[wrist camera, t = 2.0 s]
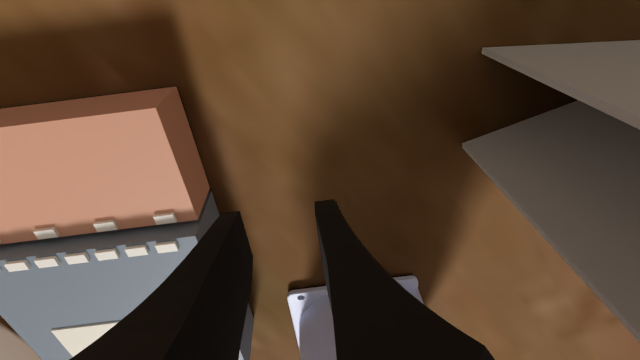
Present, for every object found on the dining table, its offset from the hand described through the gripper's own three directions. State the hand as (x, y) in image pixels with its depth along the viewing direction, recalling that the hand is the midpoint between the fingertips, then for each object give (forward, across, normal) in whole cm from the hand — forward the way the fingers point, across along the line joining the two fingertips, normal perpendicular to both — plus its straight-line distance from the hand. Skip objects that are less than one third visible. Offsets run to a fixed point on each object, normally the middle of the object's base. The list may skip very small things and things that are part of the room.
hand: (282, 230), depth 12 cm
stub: (+8, +11, 0) cm, 14 cm away
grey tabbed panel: (+8, +11, +9) cm, 17 cm away
